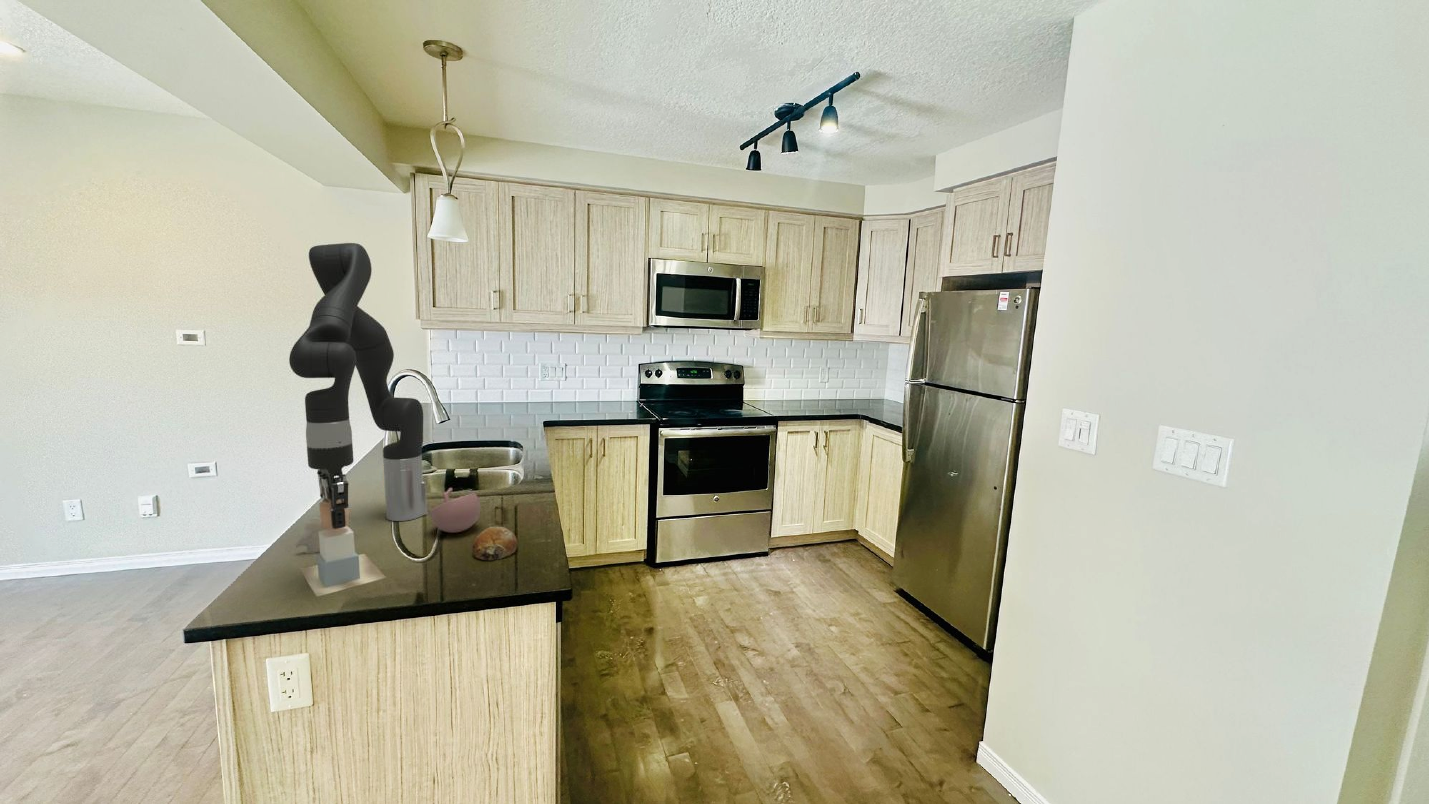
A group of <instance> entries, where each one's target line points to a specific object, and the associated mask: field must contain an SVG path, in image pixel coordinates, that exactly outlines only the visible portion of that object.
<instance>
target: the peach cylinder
mask: <svg viewBox="0 0 1429 804" xmlns="http://www.w3.org/2000/svg"><path fill="white" fill-rule="evenodd" d="M338 503H341V499H340V500H337V501H336V504H338ZM318 506H319V516H320V517H319V518H320V520H321V529H323V530H335V529H334V528H333V527H332V520H331V510H330V503H329V500H325V501H322V500H321V502H319V504H318ZM349 510H350V509H349V507H348V508H346V509H345V522H346V525H345V527H346V526H348V527H349V525H350V513H349V512H350V511H349ZM342 528H344V527H342ZM337 529H340V528H337Z"/></svg>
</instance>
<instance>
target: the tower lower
mask: <svg viewBox="0 0 1429 804" xmlns="http://www.w3.org/2000/svg"><path fill="white" fill-rule="evenodd" d="M358 555H359V554H358V553H357V552H356V551H355V556H352V557H347V558H343V559H339V560H335V561H331V562H327V563H326V562H325V560H324V559H323V558H322V556H321V555H320V553H319V554H316V560H317V565H318V575H319V579H320V580H321V582H322V583H323V585H324V586H325V588H327V587H331V586H334V585H338V584H342V583H345V582H349V581H353V580H357V579H360V569H359V556H358Z"/></svg>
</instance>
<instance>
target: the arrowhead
mask: <svg viewBox="0 0 1429 804" xmlns="http://www.w3.org/2000/svg"><path fill="white" fill-rule="evenodd" d="M319 531H324V530H323V529H321V520H320V517H319V516H314V517H312V518H311V519H310V520H309V521H308V522H307V523H306V524H305V525H304V527H303V528H302V529H301V532H300V534H299V535H298V537H297V538H296V541H295V544H294V545H295V548H297V549H298V548H299V547H300V548H301V547H302V546H304V547H306V551H305V553H304V554H316V553H320V543H319Z"/></svg>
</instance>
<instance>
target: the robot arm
mask: <svg viewBox="0 0 1429 804" xmlns="http://www.w3.org/2000/svg"><path fill="white" fill-rule="evenodd" d="M308 261H309V264H310V267H311V271H312V273H313V275H314V277H315V279H316V281H317V283H318V285H319V287H320V289H321V291H322V293H323V296H322V297H321V298H320V299H319V301H317V303H316V305H315V307H314V309H313V310H312V313H311V314H312V315H311V318H310V322H309V326H308V327H307V328H306V329H305V331H304V332H303V334H302V335H301V336H300V337H299V338H298V339H297V341H296V342H295V343H294V344H293V346H292V348H291V350H290V353H289V356H288V357H289V360H288V362H289V366H290V369H291V370H292V372H293V373H294V374H295V375H297V377H300V378H303V379H334V382H333V384H332V385H330V386H329V387H326V388H321V389H316V390H313V391H310V392H308V393H306V395H305V397H304V407H305V408H304V409H305V420H306V421H305V423H306V425H305V427H306V428H305V441H306V442H305V444H306V454H307V465H308V467H309V468H310V469H312V470H317V471H316V472H317V477H318V486H319V493H320V494H319V497H320V499H322V500H321V502H322V501H325V500H329V503H330V510H331V520H332V527H333V528H334V529H337V528H342V527H345V525H346V522H345V509H346V508H348V509H349V481H348V480H347V475H346V474H345V473H344V474H343V468H344V467H348V466H351V465H352V464H353V463H354V460H355V459H354V447H353V445H354V444H353V434H352V433H353V432H352V427H351V421H350V408H349V407H350V406H349V393H350V387H351V386H350V385H351V382H352V380H353V379H352V378H353V376H354V371H355V369H356V370H357V372H358V375H359V379H360V380H361V383H362V387H363V389H364V391H365V395H366V399H367V403H368V406H369V410H370V413H371V417H372V419H373V421H374V424H375V425H376V426H377V427H378V429H380V430H382V431H384V432H385V431H386V432H400V434H399V439H398V441H395V442H393V443H392V442H391V443H388V444H386V445H385V446H384V447H383V449H382V456H383V457H382V459H383V476H384V494H385V514H386V519H387V520H389V521H392V522H393V521H394V522H402V521H403V522H405V521H410V520H415V519H418V518H420V517H422V516H424V515H428V512H427V511H428V508H427V491H426V490H427V488H426V487H427V486H426V484H427V483H426V481H424V478H423V459H422V457H423V456H422V454H423V453H422V450H423V449H422V448H423V444H424V409H423V405H422V402H420V400H419V399H416V398H412V397H396V396H395V397H393V396H392V394H391V392H390V389H389V387H388V382H387V380H388V377H389V373H390V371H391V368H392V365H393V362H394V358H395V357H394V356H395V353H394V349H393V346H392V343H391V341H390V337H389V336H388V333H387V332H388V331H387V330H386V329H385V327H384V326H383V325H382V324H381V323H380V322H379V321H377V320H376V319H375V318H374V317H372V316H371V315H370V314H368V313H367V312H366V311H365V310H363V309H362V308H361V307H360V306H358V305H359V304H360V301H361V299H362V298H363V296H364V294H365V291H366V289H367V287H368V285H369V283H370V280H371V277H372V263H371V259H370V256H369V254H368V252H367V250H366V248H365V247H363V245H361V244H359V243H356V242H342V243H331V244H330V243H329V244H320V245H318V244H317V245H315V246H312V247H311V248H310V249H309V251H308ZM340 499H341V503H338V504H336V501H337V500H340Z"/></svg>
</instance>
